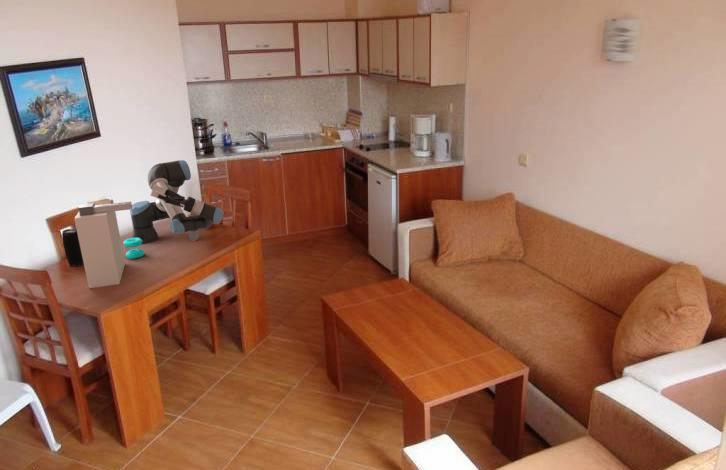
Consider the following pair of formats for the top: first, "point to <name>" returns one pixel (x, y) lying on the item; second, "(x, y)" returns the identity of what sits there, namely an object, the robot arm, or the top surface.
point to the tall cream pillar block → (100, 247)
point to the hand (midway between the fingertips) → (152, 189)
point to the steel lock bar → (103, 208)
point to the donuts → (134, 252)
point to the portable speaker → (72, 247)
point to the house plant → (193, 233)
